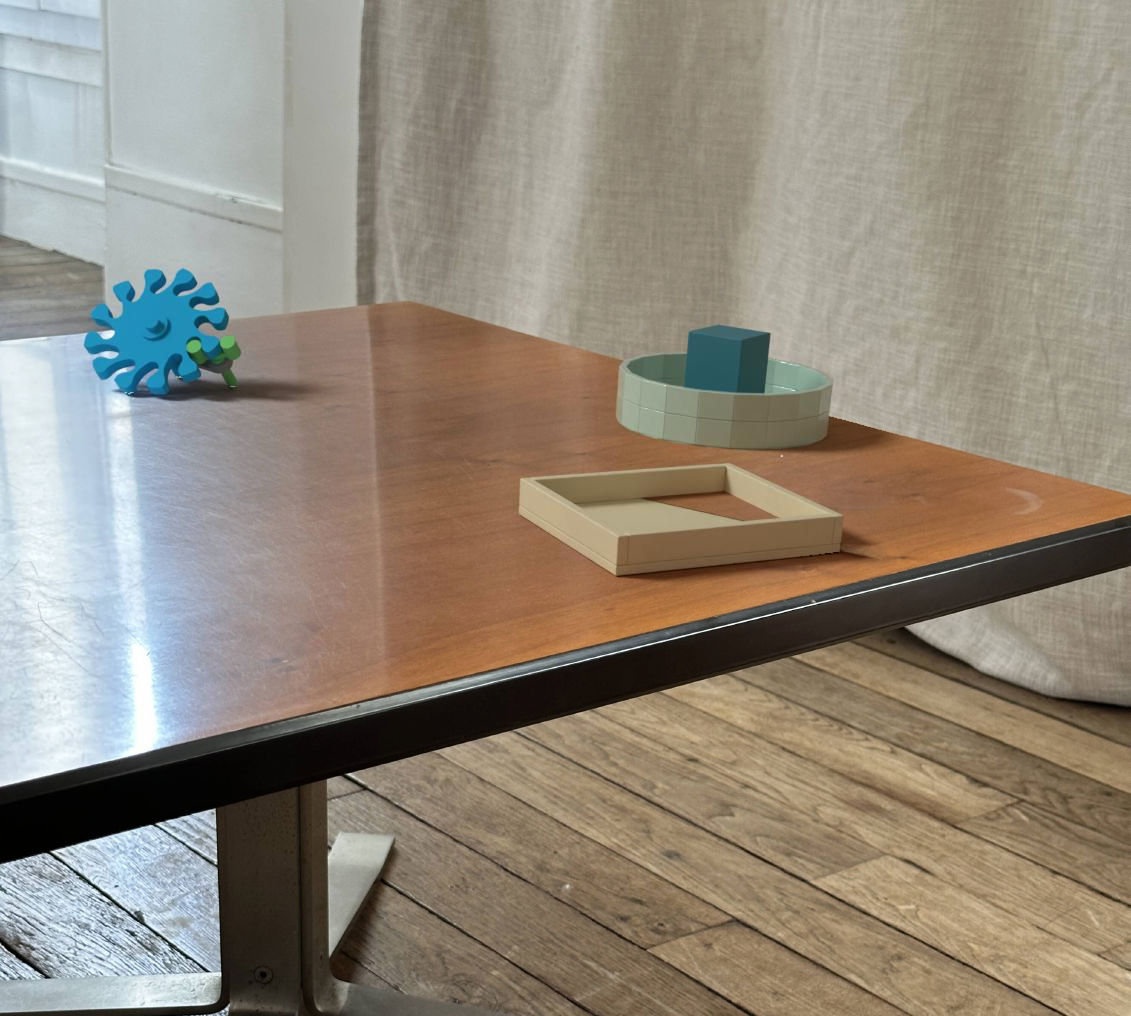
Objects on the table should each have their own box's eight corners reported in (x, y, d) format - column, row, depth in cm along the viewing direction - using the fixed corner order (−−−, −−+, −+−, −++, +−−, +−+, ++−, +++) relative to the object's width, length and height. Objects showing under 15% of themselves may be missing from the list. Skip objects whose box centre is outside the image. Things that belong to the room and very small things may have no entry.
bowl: (752, 405, 116) (758, 348, 114) (868, 450, 104) (876, 389, 103) (580, 414, 110) (583, 355, 108) (682, 464, 99) (688, 399, 97)
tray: (726, 496, 92) (729, 462, 91) (840, 552, 83) (844, 515, 82) (518, 514, 86) (519, 477, 86) (615, 576, 77) (618, 536, 76)
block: (709, 413, 109) (717, 324, 107) (761, 423, 107) (771, 332, 105) (680, 422, 106) (688, 330, 104) (733, 433, 104) (742, 339, 102)
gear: (53, 362, 108) (123, 246, 111) (90, 411, 113) (155, 299, 116) (193, 405, 105) (260, 285, 108) (223, 453, 111) (287, 338, 113)
